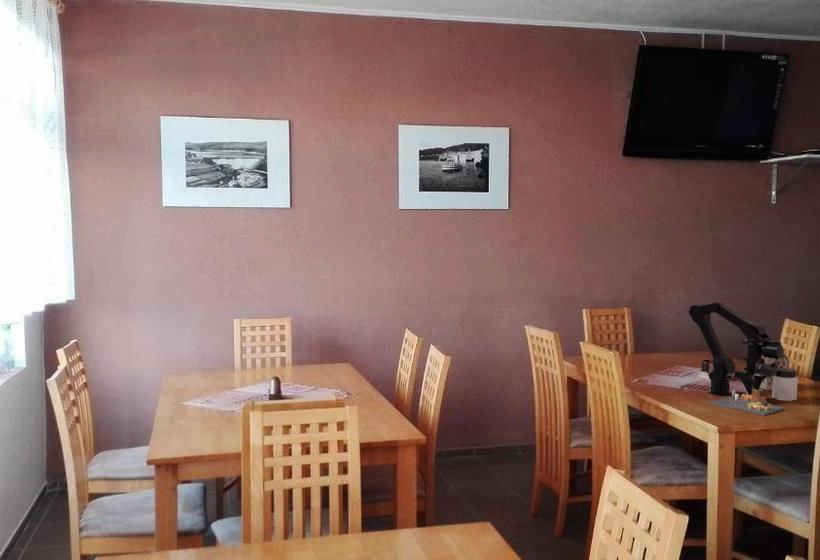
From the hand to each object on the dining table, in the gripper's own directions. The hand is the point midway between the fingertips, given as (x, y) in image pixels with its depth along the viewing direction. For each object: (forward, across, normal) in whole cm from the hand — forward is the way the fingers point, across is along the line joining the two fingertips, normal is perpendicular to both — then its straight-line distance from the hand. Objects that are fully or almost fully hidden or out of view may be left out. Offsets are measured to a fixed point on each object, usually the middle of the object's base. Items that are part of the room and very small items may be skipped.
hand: (752, 393), depth 299 cm
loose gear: (+2, 0, 0) cm, 2 cm away
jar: (+3, +13, -6) cm, 15 cm away
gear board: (+2, -13, -5) cm, 14 cm away
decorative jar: (+3, +29, +10) cm, 31 cm away
